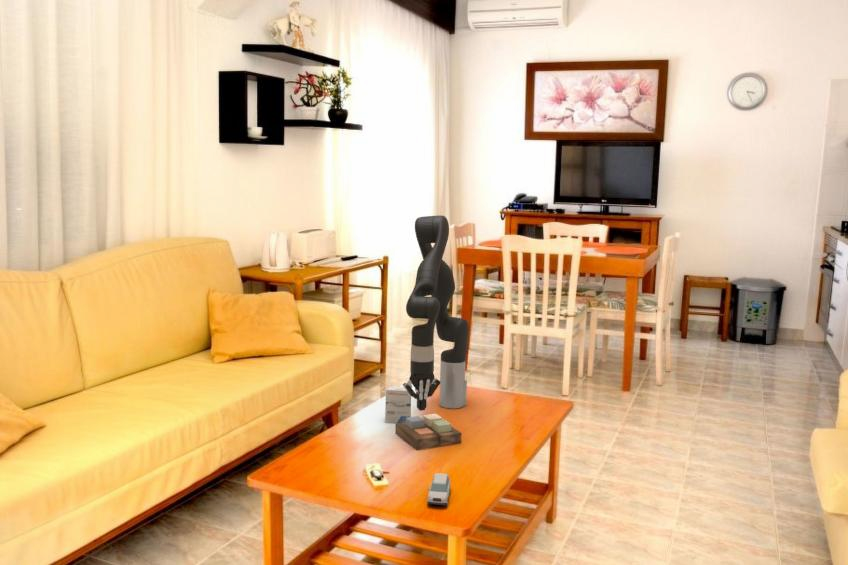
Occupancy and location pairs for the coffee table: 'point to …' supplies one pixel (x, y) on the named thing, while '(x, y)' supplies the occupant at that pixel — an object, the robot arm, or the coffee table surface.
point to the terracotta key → (423, 431)
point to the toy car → (439, 490)
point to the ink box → (397, 405)
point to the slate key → (415, 422)
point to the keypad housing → (427, 437)
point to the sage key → (441, 426)
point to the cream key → (431, 419)
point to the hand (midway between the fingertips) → (421, 409)
